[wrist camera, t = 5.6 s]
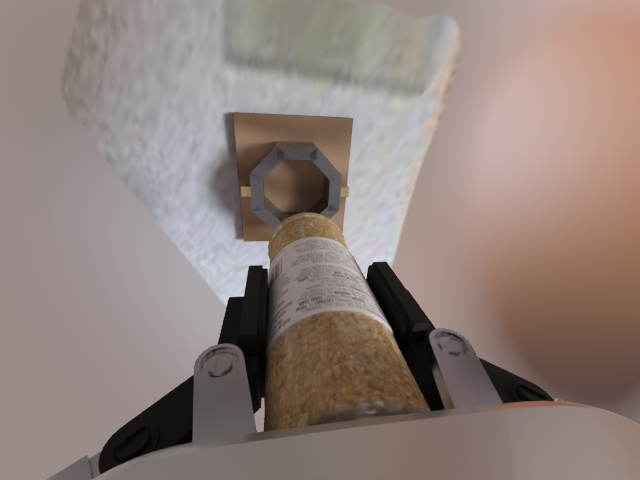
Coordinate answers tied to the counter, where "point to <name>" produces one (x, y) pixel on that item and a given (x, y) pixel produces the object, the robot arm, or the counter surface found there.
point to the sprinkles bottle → (327, 335)
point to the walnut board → (289, 163)
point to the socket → (293, 152)
